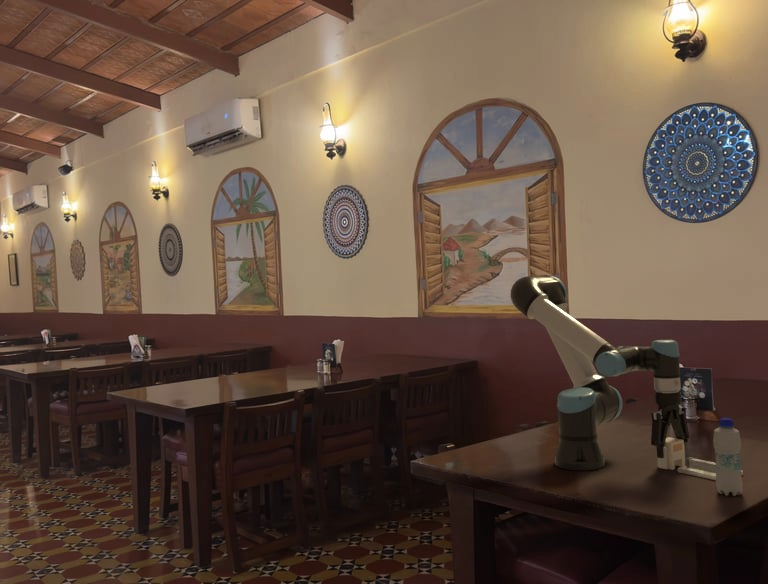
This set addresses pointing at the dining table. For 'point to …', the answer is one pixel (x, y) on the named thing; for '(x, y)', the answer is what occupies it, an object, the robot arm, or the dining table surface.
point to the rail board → (700, 468)
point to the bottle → (728, 458)
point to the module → (675, 452)
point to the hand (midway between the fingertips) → (671, 465)
